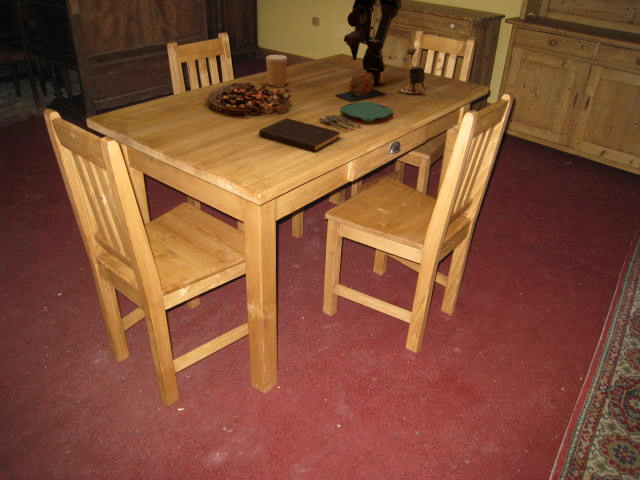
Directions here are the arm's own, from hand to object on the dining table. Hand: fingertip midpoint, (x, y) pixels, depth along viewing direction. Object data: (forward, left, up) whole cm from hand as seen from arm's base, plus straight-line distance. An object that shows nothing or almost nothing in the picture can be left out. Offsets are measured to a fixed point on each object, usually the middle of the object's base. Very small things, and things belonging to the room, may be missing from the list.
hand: (361, 62), depth 223 cm
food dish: (+52, -10, -12) cm, 54 cm away
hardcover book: (+58, +31, -12) cm, 67 cm away
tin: (+4, +6, -12) cm, 14 cm away
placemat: (+5, +6, -12) cm, 14 cm away
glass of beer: (+26, -27, -12) cm, 39 cm away
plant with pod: (-17, +16, -12) cm, 26 cm away
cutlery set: (+27, +27, -12) cm, 40 cm away
